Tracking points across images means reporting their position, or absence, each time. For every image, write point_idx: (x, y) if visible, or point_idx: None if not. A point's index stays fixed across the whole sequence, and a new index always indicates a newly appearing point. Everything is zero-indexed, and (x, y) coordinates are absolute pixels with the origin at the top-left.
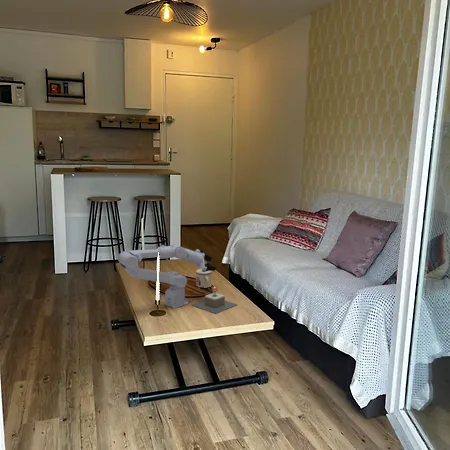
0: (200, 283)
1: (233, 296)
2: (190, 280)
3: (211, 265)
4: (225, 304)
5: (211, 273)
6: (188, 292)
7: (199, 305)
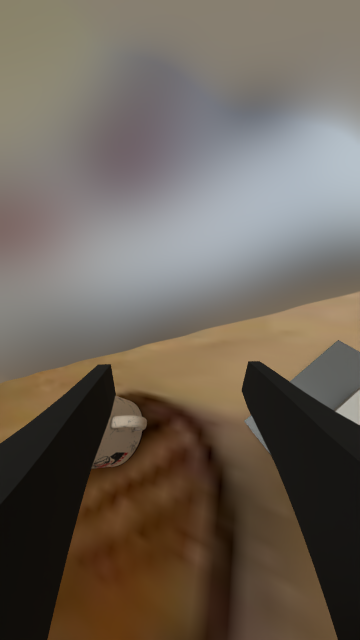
0: (121, 453)
1: (234, 345)
2: None
3: (350, 427)
4: (352, 387)
5: None
6: (155, 543)
7: None
